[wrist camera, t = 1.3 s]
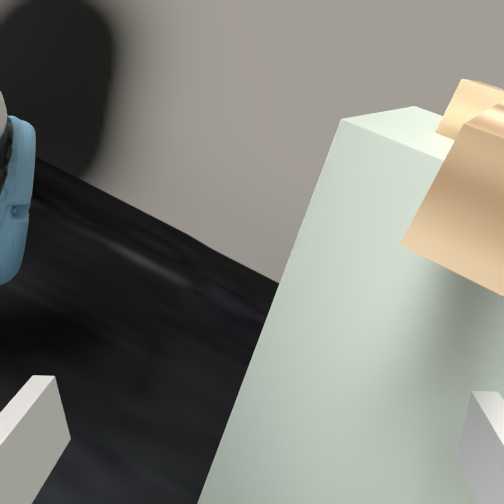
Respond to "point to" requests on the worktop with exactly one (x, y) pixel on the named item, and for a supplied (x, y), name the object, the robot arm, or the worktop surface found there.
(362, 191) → the tall pale green block
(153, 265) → the worktop surface
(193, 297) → the worktop surface
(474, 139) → the t-shaped wooden block
